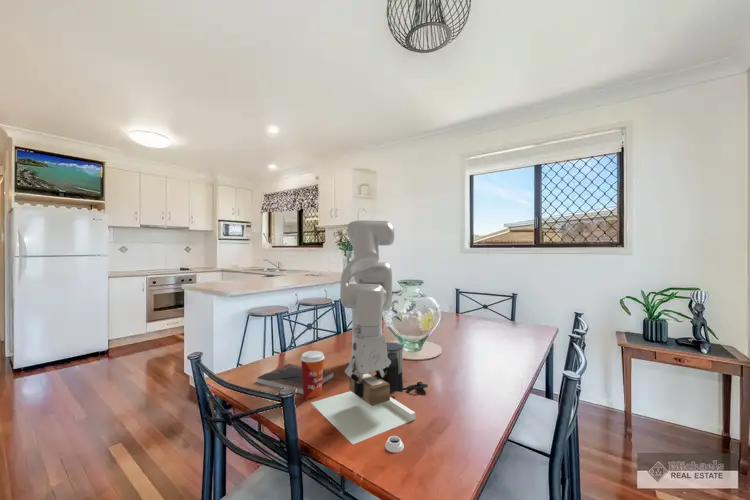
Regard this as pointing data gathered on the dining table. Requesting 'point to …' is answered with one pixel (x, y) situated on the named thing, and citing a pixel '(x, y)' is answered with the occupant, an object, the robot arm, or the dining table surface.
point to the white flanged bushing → (394, 444)
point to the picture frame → (288, 377)
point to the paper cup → (312, 373)
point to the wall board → (362, 415)
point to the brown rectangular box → (372, 389)
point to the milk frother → (397, 369)
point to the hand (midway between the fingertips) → (368, 392)
